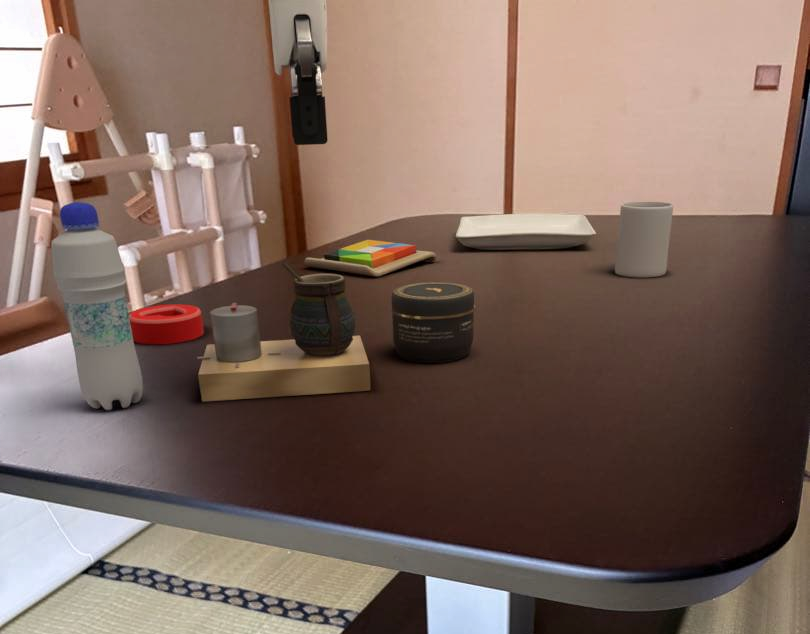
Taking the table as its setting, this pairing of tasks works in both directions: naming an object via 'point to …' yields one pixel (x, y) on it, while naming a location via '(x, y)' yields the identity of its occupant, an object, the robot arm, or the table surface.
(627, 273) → the mug
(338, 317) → the mate gourd
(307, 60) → the robot arm
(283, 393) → the wooden peg base
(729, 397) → the table surface
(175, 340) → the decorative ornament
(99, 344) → the bottle
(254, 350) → the cylinder
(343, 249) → the wooden puzzle
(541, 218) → the square plate
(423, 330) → the jar
